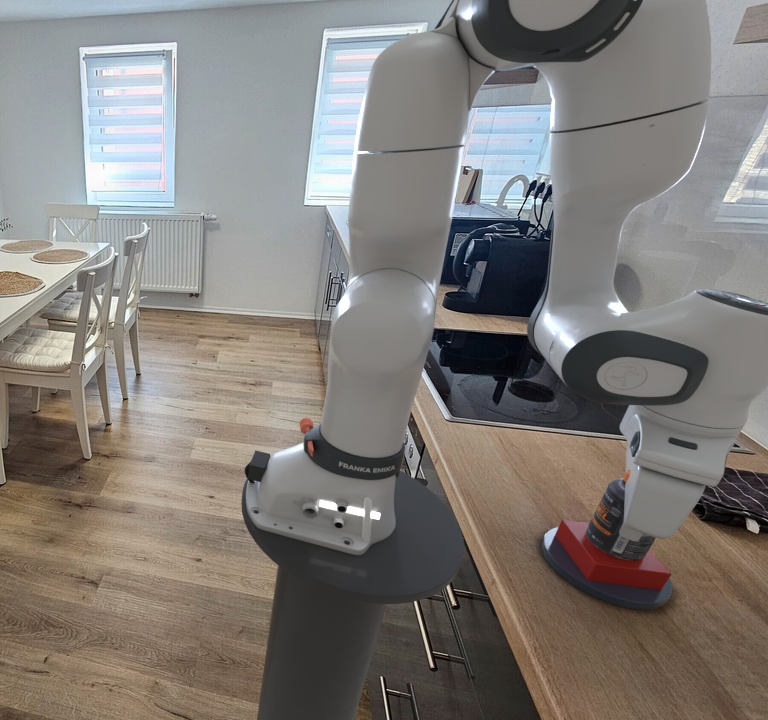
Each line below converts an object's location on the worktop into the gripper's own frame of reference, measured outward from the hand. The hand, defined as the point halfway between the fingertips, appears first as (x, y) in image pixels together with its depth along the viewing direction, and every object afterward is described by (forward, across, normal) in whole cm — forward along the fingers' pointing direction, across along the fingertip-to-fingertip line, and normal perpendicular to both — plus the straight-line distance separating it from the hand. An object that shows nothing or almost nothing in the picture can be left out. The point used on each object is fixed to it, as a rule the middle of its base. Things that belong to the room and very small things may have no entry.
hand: (628, 519), depth 64 cm
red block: (+8, 0, 0) cm, 8 cm away
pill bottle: (+5, 0, 0) cm, 5 cm away
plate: (+9, 0, 0) cm, 9 cm away
